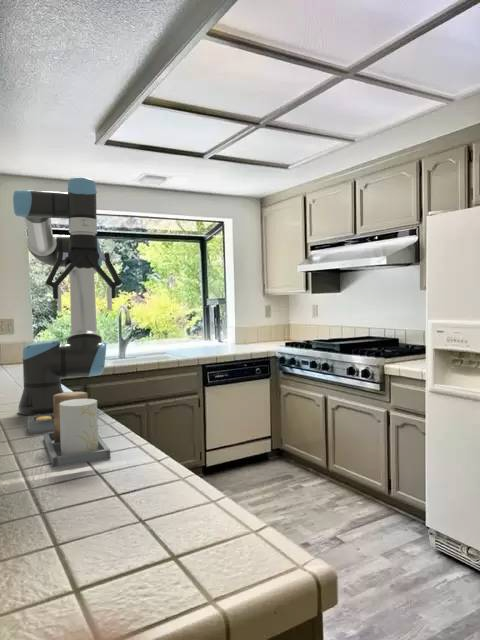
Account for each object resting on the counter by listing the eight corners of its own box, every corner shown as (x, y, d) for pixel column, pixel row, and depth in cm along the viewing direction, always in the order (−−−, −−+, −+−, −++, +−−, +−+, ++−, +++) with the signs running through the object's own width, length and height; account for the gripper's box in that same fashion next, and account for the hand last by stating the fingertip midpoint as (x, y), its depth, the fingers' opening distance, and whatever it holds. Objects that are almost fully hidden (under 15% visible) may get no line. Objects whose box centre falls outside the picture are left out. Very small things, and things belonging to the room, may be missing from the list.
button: (36, 427, 133) (35, 417, 132) (51, 426, 134) (51, 415, 134) (37, 431, 129) (36, 420, 129) (52, 429, 131) (52, 418, 131)
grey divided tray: (44, 443, 121) (43, 433, 121) (92, 436, 126) (92, 426, 126) (52, 470, 100) (52, 458, 100) (110, 461, 106) (110, 449, 106)
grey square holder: (27, 430, 133) (27, 416, 133) (58, 427, 137) (57, 413, 137) (29, 437, 126) (29, 422, 126) (61, 433, 130) (61, 419, 130)
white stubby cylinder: (86, 461, 104) (85, 406, 103) (53, 459, 106) (51, 405, 105) (104, 449, 112) (103, 399, 111) (73, 448, 114) (72, 398, 113)
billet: (53, 440, 120) (51, 393, 120) (85, 436, 124) (84, 390, 123) (56, 449, 113) (55, 399, 113) (91, 444, 117) (89, 395, 116)
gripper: (35, 231, 124) (38, 312, 125) (130, 235, 135) (132, 310, 136) (33, 234, 131) (36, 311, 132) (124, 238, 142) (126, 309, 143)
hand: (85, 310), depth 134 cm, fingers open, 13 cm apart
